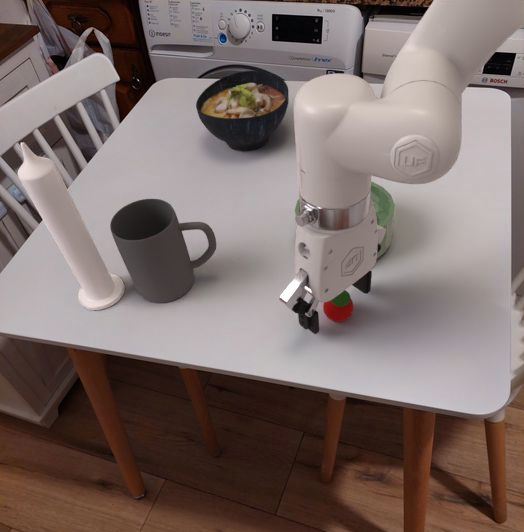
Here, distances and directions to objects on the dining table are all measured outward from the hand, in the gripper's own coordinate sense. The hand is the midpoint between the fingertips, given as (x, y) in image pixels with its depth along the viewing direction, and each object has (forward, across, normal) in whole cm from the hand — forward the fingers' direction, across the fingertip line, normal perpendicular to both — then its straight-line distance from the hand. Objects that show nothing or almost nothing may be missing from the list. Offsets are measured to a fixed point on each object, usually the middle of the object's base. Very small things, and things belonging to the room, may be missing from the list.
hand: (335, 307), depth 69 cm
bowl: (+2, +21, +44) cm, 49 cm away
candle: (+2, -21, +29) cm, 36 cm away
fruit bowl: (+2, +12, +10) cm, 16 cm away
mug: (+2, -11, +22) cm, 25 cm away
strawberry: (+2, 0, 0) cm, 2 cm away
